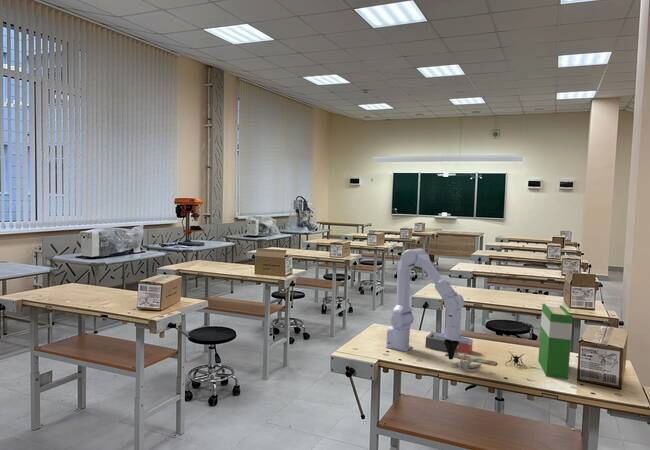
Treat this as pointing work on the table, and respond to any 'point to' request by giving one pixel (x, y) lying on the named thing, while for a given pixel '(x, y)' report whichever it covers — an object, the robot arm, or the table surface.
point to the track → (474, 358)
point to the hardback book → (555, 341)
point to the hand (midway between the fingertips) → (450, 358)
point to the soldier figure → (467, 364)
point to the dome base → (435, 342)
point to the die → (465, 347)
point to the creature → (516, 360)
